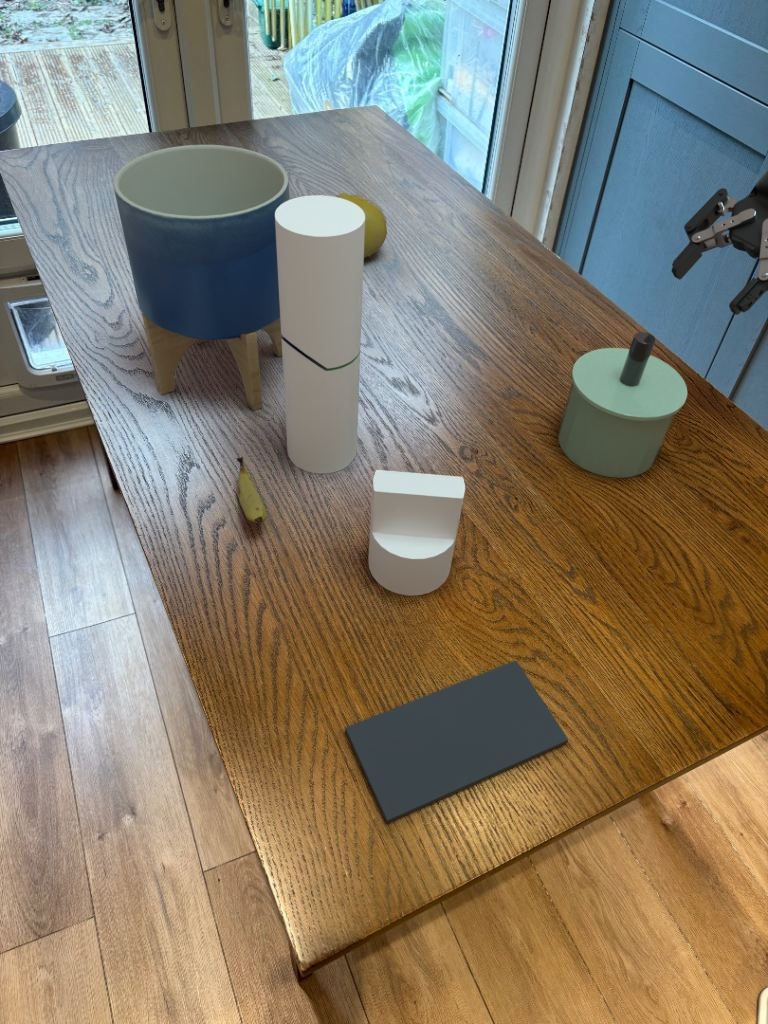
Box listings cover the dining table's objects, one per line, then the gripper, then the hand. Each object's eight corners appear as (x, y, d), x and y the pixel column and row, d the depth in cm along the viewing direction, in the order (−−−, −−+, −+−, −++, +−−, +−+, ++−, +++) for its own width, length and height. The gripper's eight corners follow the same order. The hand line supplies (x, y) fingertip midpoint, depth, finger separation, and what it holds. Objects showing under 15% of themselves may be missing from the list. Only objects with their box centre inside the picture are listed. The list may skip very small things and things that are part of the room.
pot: (654, 422, 100) (678, 363, 93) (657, 486, 92) (684, 426, 85) (560, 405, 102) (577, 346, 95) (555, 467, 93) (573, 407, 86)
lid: (680, 365, 94) (701, 315, 89) (687, 434, 85) (711, 383, 80) (572, 347, 96) (586, 297, 90) (567, 413, 86) (582, 361, 81)
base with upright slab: (450, 535, 84) (464, 456, 76) (450, 599, 78) (465, 521, 70) (371, 528, 85) (376, 449, 76) (364, 592, 78) (369, 513, 70)
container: (314, 483, 89) (309, 245, 67) (273, 444, 93) (257, 209, 71) (370, 454, 93) (383, 221, 71) (329, 418, 97) (329, 188, 75)
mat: (514, 664, 73) (516, 659, 73) (566, 743, 68) (568, 739, 67) (345, 731, 68) (345, 727, 67) (386, 824, 62) (387, 820, 62)
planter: (189, 433, 94) (152, 233, 75) (133, 355, 104) (88, 161, 85) (322, 386, 102) (319, 194, 83) (257, 318, 112) (242, 133, 93)
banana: (271, 539, 83) (269, 515, 80) (250, 544, 82) (247, 519, 79) (252, 478, 89) (250, 453, 86) (232, 482, 88) (229, 457, 86)
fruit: (380, 273, 123) (384, 214, 116) (316, 265, 124) (315, 205, 117) (390, 244, 130) (393, 186, 123) (329, 236, 131) (329, 179, 124)
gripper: (753, 128, 83) (648, 248, 87) (868, 177, 75) (747, 307, 79) (763, 168, 89) (665, 279, 93) (871, 218, 81) (759, 337, 85)
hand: (703, 292), depth 86 cm, fingers open, 8 cm apart
